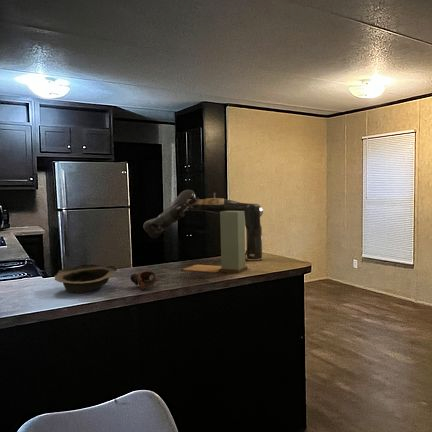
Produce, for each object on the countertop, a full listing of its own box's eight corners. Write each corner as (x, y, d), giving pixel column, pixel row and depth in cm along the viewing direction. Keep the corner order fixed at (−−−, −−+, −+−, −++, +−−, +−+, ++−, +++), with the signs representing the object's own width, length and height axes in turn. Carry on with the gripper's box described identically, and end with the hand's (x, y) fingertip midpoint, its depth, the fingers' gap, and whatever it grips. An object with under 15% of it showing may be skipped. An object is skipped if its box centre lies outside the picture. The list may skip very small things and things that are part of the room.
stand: (219, 271, 228) (217, 212, 225) (229, 267, 238) (227, 210, 235) (238, 273, 224) (237, 212, 221) (247, 269, 234) (246, 210, 232)
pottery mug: (159, 285, 202) (160, 271, 197) (151, 299, 194) (153, 285, 189) (133, 278, 201) (134, 265, 197) (124, 292, 193) (125, 278, 189)
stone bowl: (98, 279, 211) (98, 260, 210) (127, 291, 195) (127, 270, 194) (44, 288, 192) (43, 268, 191) (70, 302, 176) (70, 280, 175)
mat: (182, 270, 233) (182, 269, 233) (196, 265, 246) (196, 264, 246) (215, 272, 226) (215, 271, 226) (228, 267, 239) (228, 266, 239)
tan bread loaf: (185, 204, 234) (185, 192, 234) (191, 203, 240) (191, 192, 240) (218, 204, 227) (218, 193, 227) (224, 204, 233) (223, 192, 233)
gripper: (163, 209, 235) (186, 193, 229) (178, 207, 248) (201, 192, 242) (169, 221, 234) (193, 205, 228) (184, 219, 247) (207, 204, 241)
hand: (197, 199), depth 235 cm, fingers closed on tan bread loaf, 2 cm apart
